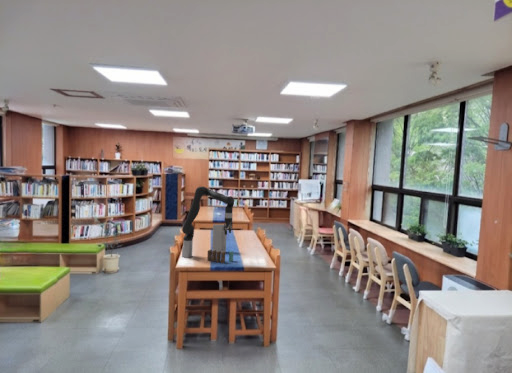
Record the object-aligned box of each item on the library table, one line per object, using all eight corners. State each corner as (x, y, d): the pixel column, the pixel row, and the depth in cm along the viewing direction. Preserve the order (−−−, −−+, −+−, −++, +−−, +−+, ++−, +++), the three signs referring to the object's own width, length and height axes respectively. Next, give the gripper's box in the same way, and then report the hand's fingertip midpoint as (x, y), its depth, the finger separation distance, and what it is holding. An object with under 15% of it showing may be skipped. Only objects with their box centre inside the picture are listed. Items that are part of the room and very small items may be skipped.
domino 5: (228, 261, 306) (229, 251, 305) (231, 260, 311) (231, 250, 310) (230, 262, 305) (231, 252, 305) (232, 260, 310) (233, 250, 309)
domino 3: (216, 262, 303) (216, 252, 302) (218, 260, 307) (219, 251, 307) (218, 262, 302) (218, 252, 301) (220, 261, 307) (220, 251, 306)
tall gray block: (212, 253, 334) (213, 225, 332) (212, 251, 339) (213, 224, 338) (225, 252, 337) (226, 225, 336) (225, 251, 343) (226, 224, 341)
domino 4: (220, 263, 301) (221, 252, 300) (223, 261, 306) (223, 251, 305) (222, 263, 300) (222, 253, 300) (224, 262, 305) (225, 252, 304)
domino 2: (211, 261, 305) (212, 251, 304) (214, 260, 309) (214, 250, 309) (213, 261, 304) (213, 251, 303) (216, 260, 309) (216, 250, 308)
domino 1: (207, 260, 307) (207, 250, 306) (209, 259, 311) (210, 249, 311) (209, 260, 306) (209, 251, 305) (211, 259, 310) (212, 249, 310)
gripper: (228, 215, 307) (227, 232, 308) (221, 217, 294) (220, 234, 295) (235, 216, 304) (234, 233, 305) (228, 218, 291) (227, 235, 292)
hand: (227, 233), depth 300 cm, fingers open, 8 cm apart
